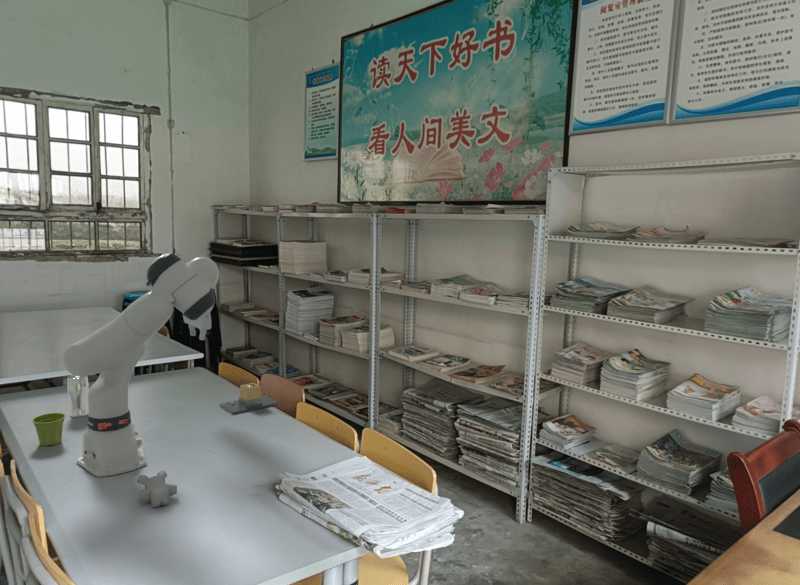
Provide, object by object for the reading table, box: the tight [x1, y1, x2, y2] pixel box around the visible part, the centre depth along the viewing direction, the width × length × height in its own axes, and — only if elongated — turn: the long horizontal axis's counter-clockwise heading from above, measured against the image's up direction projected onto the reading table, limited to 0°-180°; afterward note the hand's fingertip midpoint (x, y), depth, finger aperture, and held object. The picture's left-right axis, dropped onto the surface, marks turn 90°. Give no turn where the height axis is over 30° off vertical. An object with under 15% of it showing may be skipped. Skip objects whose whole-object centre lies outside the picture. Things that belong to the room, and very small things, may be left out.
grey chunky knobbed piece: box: [136, 470, 178, 508], centre depth 151 cm, size 10×5×15 cm
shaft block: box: [219, 385, 280, 415], centre depth 226 cm, size 12×20×8 cm, turn 130°
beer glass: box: [66, 374, 90, 418], centre depth 211 cm, size 7×7×15 cm
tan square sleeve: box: [239, 382, 262, 401], centre depth 225 cm, size 6×6×5 cm
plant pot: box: [31, 412, 66, 447], centre depth 185 cm, size 9×9×9 cm
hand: (197, 337), depth 217 cm, fingers open, 8 cm apart
